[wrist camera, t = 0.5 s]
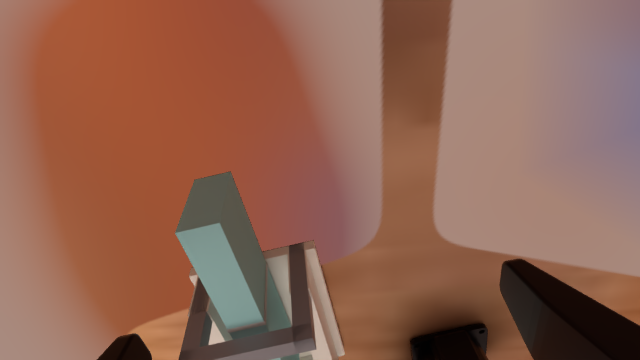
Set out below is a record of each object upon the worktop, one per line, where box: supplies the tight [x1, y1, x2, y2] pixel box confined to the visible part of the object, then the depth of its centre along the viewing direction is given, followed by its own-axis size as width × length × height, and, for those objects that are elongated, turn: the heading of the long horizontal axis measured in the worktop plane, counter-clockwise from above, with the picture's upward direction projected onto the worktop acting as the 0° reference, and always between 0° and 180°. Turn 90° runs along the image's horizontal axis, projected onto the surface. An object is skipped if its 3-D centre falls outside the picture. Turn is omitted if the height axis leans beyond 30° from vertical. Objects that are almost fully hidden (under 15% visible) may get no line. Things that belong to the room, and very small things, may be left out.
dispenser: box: [179, 240, 345, 360], centre depth 25 cm, size 12×8×7 cm
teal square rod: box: [175, 172, 300, 360], centre depth 22 cm, size 16×2×4 cm, turn 12°
